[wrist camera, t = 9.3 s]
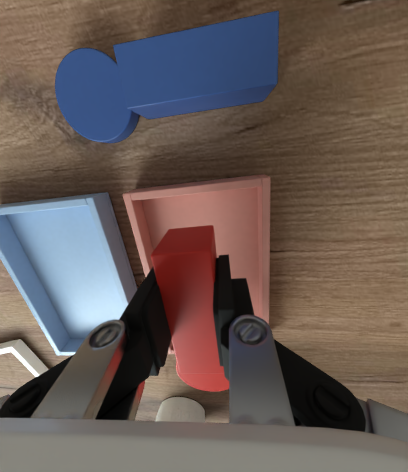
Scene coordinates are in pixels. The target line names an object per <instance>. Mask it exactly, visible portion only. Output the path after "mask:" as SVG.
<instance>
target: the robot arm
mask: <svg viewBox="0 0 408 472" xmlns="http://www.w3.org/2000/svg"><path fill="white" fill-rule="evenodd" d="M213 317H214V325H215V332H216V340H217V348H218V355H219V363H220V366H223V367H224V375H225V378H226V379H227V380H228V381H229V423H201V422H169V421H134V420H135V417H136V414H137V410H138V407H139V403H140V400H141V396H142V393H143V389H144V384H145V380H146V379H147V378H148V377H149V376H158V374H159V370H160V367H163V366H164V365H165V361H166V357H167V354H168V350H169V346H170V342H171V338H172V337H171V333H170V329H169V325H168V321H167V317H166V313H165V309H164V305H163V300H162V296H161V292H160V288H159V286H158V284H157V280H156V276H155V272H154V268H153V267H152V268H151V270H150V272H149V273H148V275H147V277H146V278H145V280H144V281H143V283H142V284H141V285H140V286H139V288H138V290H137V291H136V293H135V294H134V296H133V298H132V299H131V301H130V303H129V304H128V306H127V307H126V309H125V311H124V312H123V314H122V315H121V317H120V319H119V320H115V319H114V320H109V321H106V322H103V323H102V324H100V325H98V326H97V327H95V328H94V329H93V330H92V331H91V332H90V333H89V334H88V335H87V337H86V338H85V340H84V341H83V343H82V344H81V345H80V347H79V348H78V350H77V351H76V353H75V354H74V355H73V356H71V357H69V358H68V359H66V360H64V361H62V362H61V363H59V364H57V365H56V366H54V367H52V368H51V369H49V370H47V371H46V372H44V373H42V374H41V375H39V376H37V377H36V378H34V379H32V380H31V381H29V382H27V383H26V384H24V385H23V386H22V387H20V388H19V389H18V390H17V391H15V392H14V393H13V394H12V395H11V396H10V395H6V396H3V397H1V398H0V472H408V414H407V413H404V412H402V411H399V410H397V409H394V408H391V407H389V406H386V405H384V404H381V403H379V402H376V401H373V400H371V399H367V402H365V401H363V400H360V399H358V398H356V397H355V396H354V395H353V394H352V393H351V392H350V390H348V389H347V388H346V387H345V386H343V385H342V384H341V383H339V382H338V381H336V380H335V379H333V378H332V377H330V376H329V375H327V374H326V373H324V372H323V371H321V370H320V369H318V368H317V367H315V366H314V365H312V364H311V363H309V362H308V361H306V360H305V359H303V358H302V357H300V356H298V355H297V354H295V353H294V352H292V351H291V350H289V349H288V348H286V347H285V346H283V345H282V344H280V343H279V342H277V341H276V340H274V339H273V335H272V331H271V328H270V326H269V324H268V323H267V322H266V321H265V320H263V319H262V318H260V317H258V316H255V315H254V310H253V306H252V301H251V297H250V292H249V288H248V283H247V279H246V278H236V279H231V271H230V261H229V254H228V255H219V258H216V269H215V282H214V290H213Z"/></svg>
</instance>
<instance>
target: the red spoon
mask: <svg viewBox="0 0 408 472" xmlns="http://www.w3.org/2000/svg"><path fill="white" fill-rule="evenodd" d="M216 258H217V253H216V244H215V235H214V226H213V225H207V226H196V227H185V228H174V229H169V230H168V231H167V232H166V234H165V235H164V237H163V238H162V239H161V241H160V242H159V244H158V245H157V247H156V248H155V249H154V251H153V252H152V254H151V260H152V264H153V268H154V272H155V276H156V280H157V284H158V286H159V288H160V292H161V296H162V300H163V305H164V309H165V313H166V317H167V321H168V325H169V329H170V333H171V337H172V338H171V340H172V344H173V348H174V352H175V356H176V360H177V362H176V370H177V373H178V375H179V377H180V378H181V379H182V380H183V381H184V382H185V383H186V384H188V385H190V386H191V387H194V388H196V389H199V390H203V391H212V392H214V391H223V390H227V389H229V381H228V380H227V379H226V378H225V375H224V367H223V366H220V363H219V355H218V348H217V340H216V332H215V325H214V317H213V290H214V282H215V269H216Z"/></svg>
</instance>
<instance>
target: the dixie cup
mask: <svg viewBox="0 0 408 472" xmlns="http://www.w3.org/2000/svg"><path fill="white" fill-rule="evenodd" d="M155 421H169V422H201V423H205V411H204V408H203V407H202V406H201V405H200V404H199V403H198V402H196V401H194V400H192V399H189V398H184V397H172V398H168V399H166V400H164V401H163V402H162V403H161V405H160V408H159V411H158V414H157V417H156V420H155Z"/></svg>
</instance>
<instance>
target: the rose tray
mask: <svg viewBox="0 0 408 472" xmlns="http://www.w3.org/2000/svg"><path fill="white" fill-rule="evenodd" d="M123 198H124V201H125V205H126V209H127V212H128V216H129V219H130V223H131V227H132V230H133V234H134V237H135V241H136V245H137V248H138V252H139V255H140V259H141V263H142V266H143V270H144V274H145V277H147V275H148V273H149V272H150V270H151V268H152V267H153V264H152V260H151V254H152V252H153V251H154V249H155V248H156V247H157V245H158V244H159V242H160V241H161V239H162V238H163V237H164V235H165V234H166V232H167V231H168V230H169V229H174V228H185V227H196V226H207V225H213V226H214V235H215V244H216V253H217V258H219V255H228V254H229V261H230V271H231V279H236V278H246V279H247V283H248V288H249V292H250V297H251V301H252V306H253V310H254V315H255V316H258V317H260V318H262V319H263V320H265V321H266V322H267V323H268V324H269V281H270V177H269V176H266V175H264V174H261V175H252V176H243V177H235V178H226V179H217V180H209V181H200V182H191V183H183V184H174V185H165V186H157V187H148V188H139V189H134V190H131V191H129V192H126V193H123ZM168 354H175V352H174V348H173V344H172V340H171V342H170V346H169V350H168Z"/></svg>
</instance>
